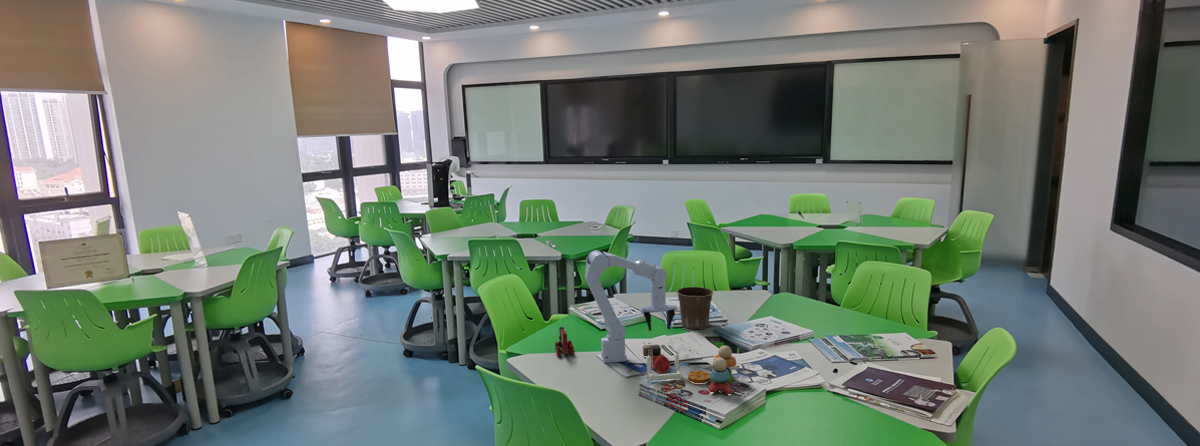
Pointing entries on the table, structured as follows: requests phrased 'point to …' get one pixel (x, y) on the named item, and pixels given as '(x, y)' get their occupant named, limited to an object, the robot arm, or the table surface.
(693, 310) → the plant pot
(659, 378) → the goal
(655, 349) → the rod
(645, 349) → the tan rectangular collar
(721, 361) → the wooden toy figures
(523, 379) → the table surface
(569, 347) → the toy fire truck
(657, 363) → the onion
